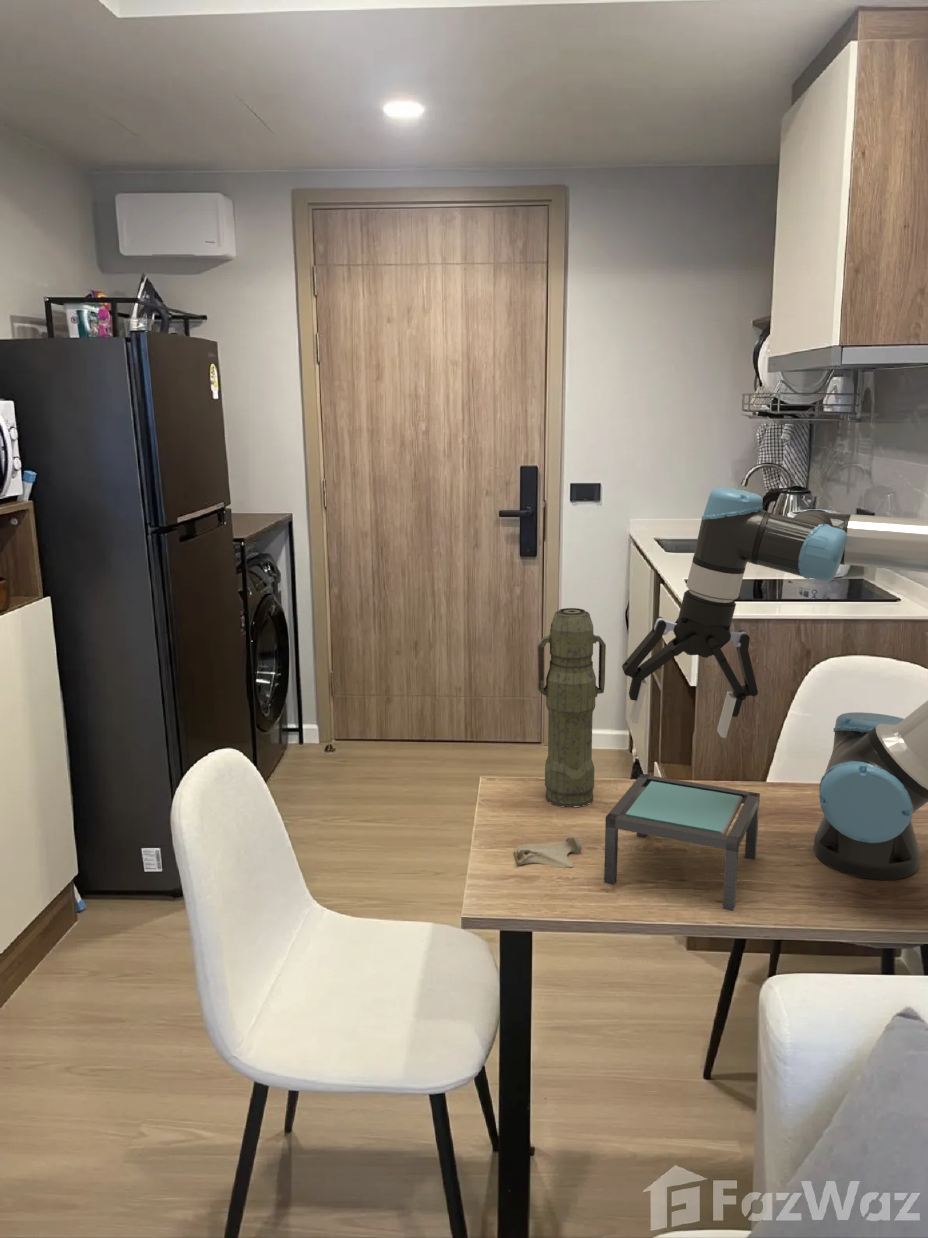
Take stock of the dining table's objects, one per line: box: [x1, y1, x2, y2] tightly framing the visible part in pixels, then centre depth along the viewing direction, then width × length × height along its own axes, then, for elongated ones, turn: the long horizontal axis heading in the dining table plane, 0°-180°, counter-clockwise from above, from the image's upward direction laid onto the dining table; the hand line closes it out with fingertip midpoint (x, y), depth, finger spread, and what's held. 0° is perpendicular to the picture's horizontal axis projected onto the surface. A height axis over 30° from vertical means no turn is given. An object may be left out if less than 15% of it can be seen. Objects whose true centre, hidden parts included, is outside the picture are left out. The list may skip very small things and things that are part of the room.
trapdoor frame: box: [603, 773, 761, 912], centre depth 140 cm, size 19×19×10 cm
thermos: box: [537, 607, 607, 808], centre depth 164 cm, size 9×12×35 cm
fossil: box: [513, 834, 583, 869], centre depth 145 cm, size 7×11×3 cm, turn 86°
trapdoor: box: [625, 781, 743, 835], centre depth 139 cm, size 14×14×1 cm
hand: (677, 727), depth 140 cm, fingers open, 13 cm apart
